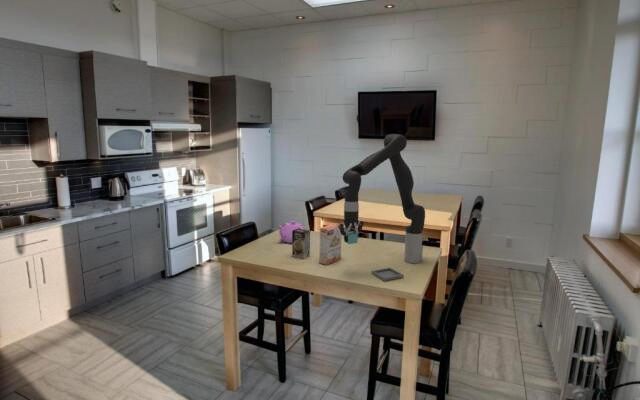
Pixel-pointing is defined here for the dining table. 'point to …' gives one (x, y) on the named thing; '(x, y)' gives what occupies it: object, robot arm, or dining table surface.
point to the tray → (387, 274)
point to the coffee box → (301, 243)
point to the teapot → (288, 230)
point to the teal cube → (352, 238)
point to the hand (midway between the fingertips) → (350, 241)
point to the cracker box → (330, 244)
